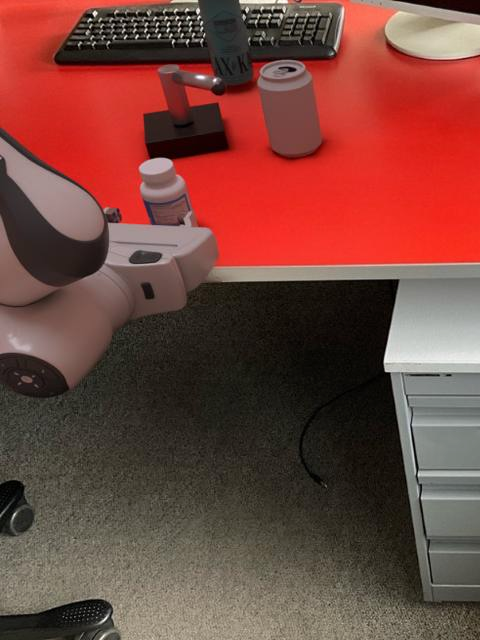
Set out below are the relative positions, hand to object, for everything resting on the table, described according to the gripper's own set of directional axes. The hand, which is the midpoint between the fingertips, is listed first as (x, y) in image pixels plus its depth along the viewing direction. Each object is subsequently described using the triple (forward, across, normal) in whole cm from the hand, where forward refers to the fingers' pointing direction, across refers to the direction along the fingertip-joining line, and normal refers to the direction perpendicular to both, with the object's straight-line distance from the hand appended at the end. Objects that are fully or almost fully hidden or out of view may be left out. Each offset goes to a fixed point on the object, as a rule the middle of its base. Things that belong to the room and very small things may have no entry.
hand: (152, 214), depth 107 cm
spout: (+28, -4, -2) cm, 28 cm away
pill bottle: (+4, 0, -6) cm, 7 cm away
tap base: (+29, -8, -6) cm, 30 cm away
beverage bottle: (+48, -7, -6) cm, 49 cm away
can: (+28, +9, -6) cm, 30 cm away
